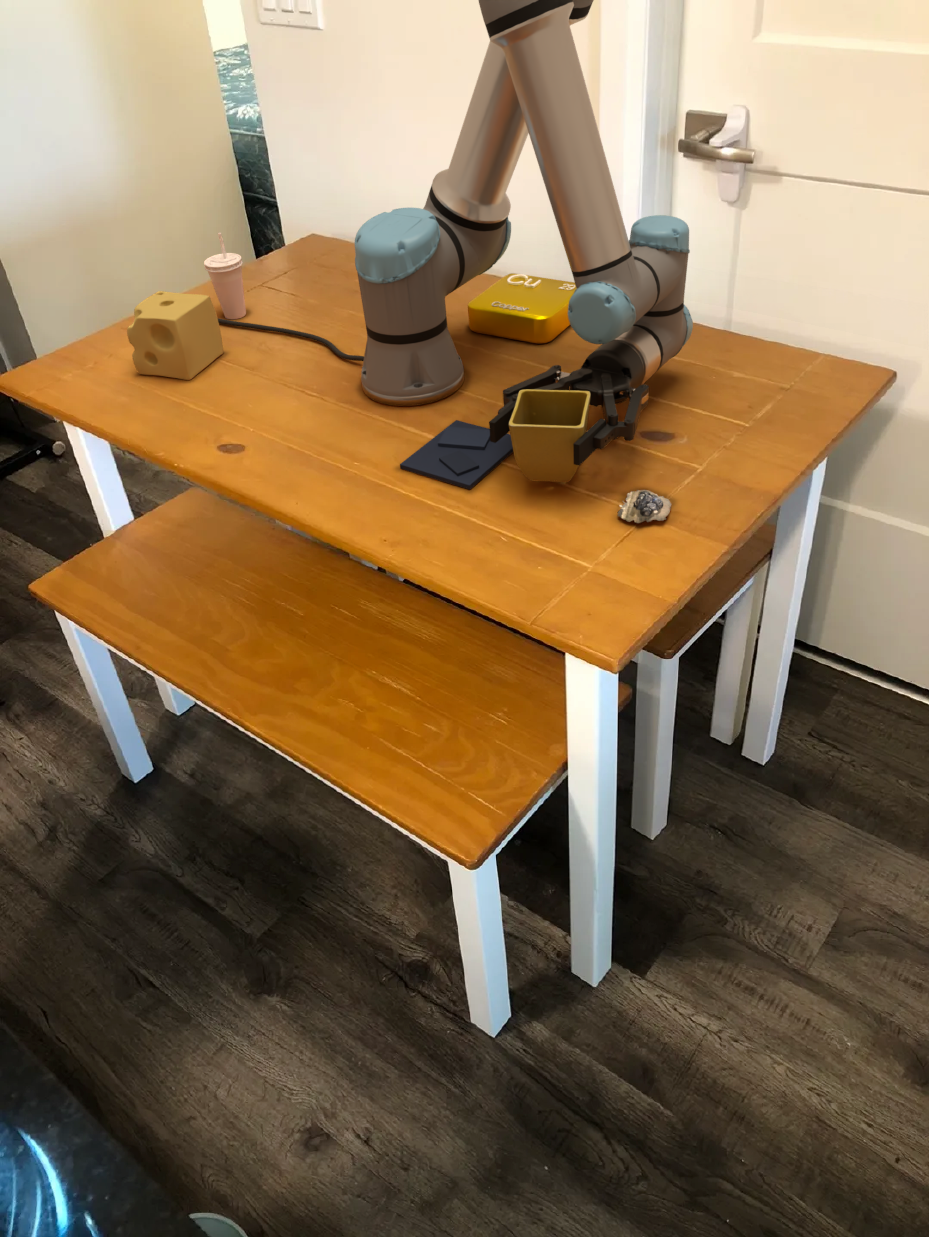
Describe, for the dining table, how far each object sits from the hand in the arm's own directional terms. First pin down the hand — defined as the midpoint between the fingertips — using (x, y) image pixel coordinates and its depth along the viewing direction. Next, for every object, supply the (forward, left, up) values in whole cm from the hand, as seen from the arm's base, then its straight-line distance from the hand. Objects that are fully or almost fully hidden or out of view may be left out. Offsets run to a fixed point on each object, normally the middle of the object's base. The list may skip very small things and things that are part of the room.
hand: (533, 443), depth 116 cm
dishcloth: (-14, +4, -8) cm, 16 cm away
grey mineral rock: (+13, +4, -8) cm, 15 cm away
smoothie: (-76, +25, -8) cm, 80 cm away
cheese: (-70, +7, -8) cm, 71 cm away
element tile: (-28, +44, -8) cm, 53 cm away
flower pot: (0, +4, -6) cm, 8 cm away
